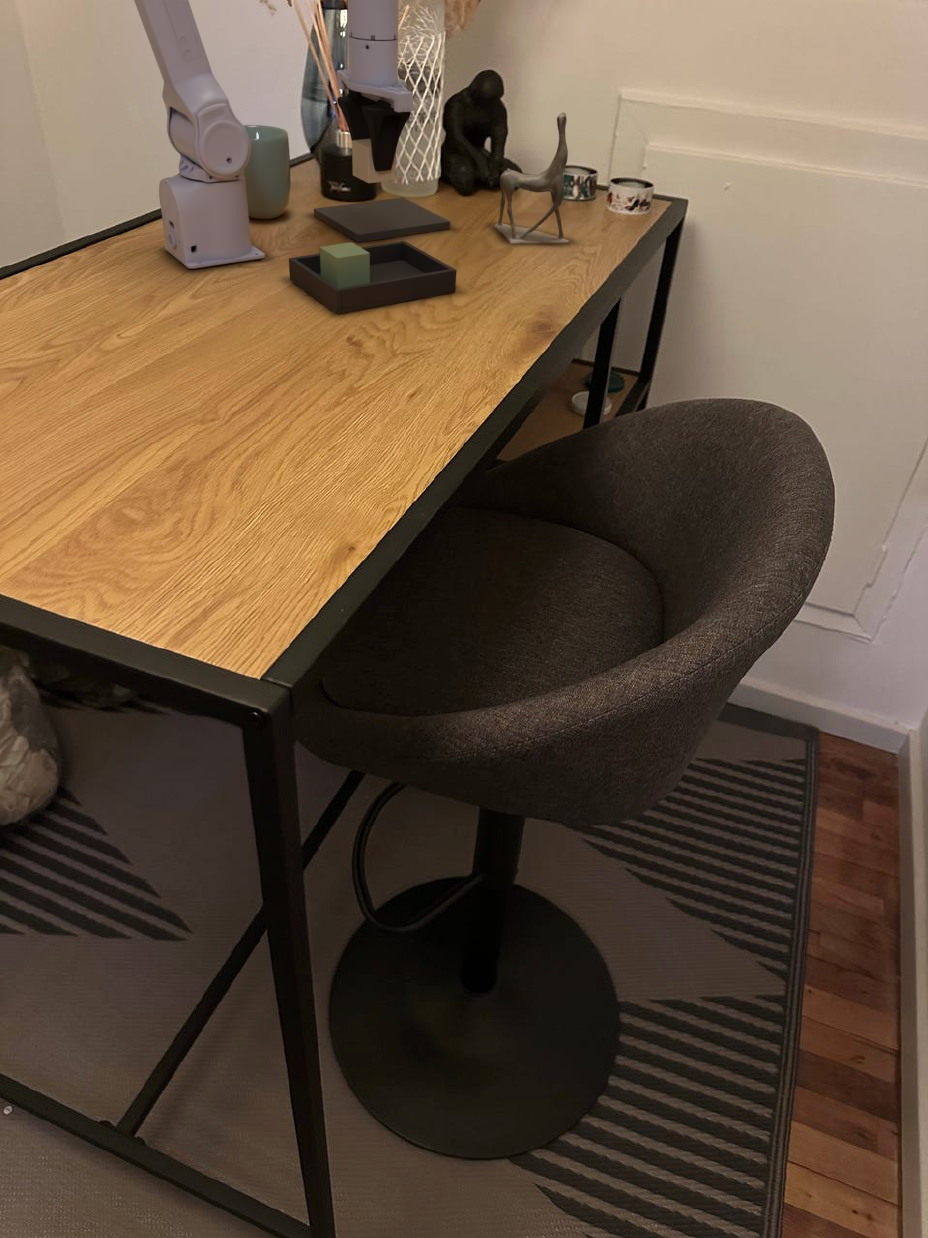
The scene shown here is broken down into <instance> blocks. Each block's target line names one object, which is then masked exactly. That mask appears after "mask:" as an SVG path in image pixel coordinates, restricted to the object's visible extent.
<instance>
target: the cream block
mask: <svg viewBox="0 0 928 1238" xmlns="http://www.w3.org/2000/svg"><path fill="white" fill-rule="evenodd" d="M351 155H352V156H351V158H352V159H351V161H352V162H351V163H352V165H351V166H352V176H353V177H355V178H357V179H359V180H361V181H363V182H365V183H367V184H375V183H383V182H384V183H385V182H393V181H397V151H396V152H395V157H394V161H393V165H392V169H391V170H388V171H379V172H378V171H375V169H374V164H373V159H372V148H371V139H362V140H351Z"/></svg>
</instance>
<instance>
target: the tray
mask: <svg viewBox="0 0 928 1238" xmlns="http://www.w3.org/2000/svg"><path fill="white" fill-rule="evenodd" d="M360 247H361V248H362V249H364V250H365V251H367V252H369V253H370V283H367V284H362V285H356V286H350V287H344V288H337V287H336V286H334V285H333V284H331V283H330V282H328V281H327V280H325V279H324V278H323V277H321V265H320V252H318V253H314V254H313V253H312V254H307V255H301V256H294V257H288V269H289V270H288V271H289V281H290V282H291V283H293V284H294V285H296V286H297V287H299V288H300V289H301V290H303V291H304V292H305V293H307V294H308V295H309V296H311V297H312V298H314V299H316V301H318V302H319V303H321V304H322V305H324V306H325V307H326V308H328V309H329V310H330V311H332V312H333V313H334V314H336V315H340V314H341V315H342V314H347V313H351V312H357V311H362V310H367V309H373V308H377V307H378V308H379V307H383V306H384V307H385V306H388V305H395V304H399V303H404V302H411V301H414V300H415V301H416V300H421V299H426V298H431V297H438V296H442V295H447V294H453V293H456V287H457V272H458V271H457V269H455V268H454V267H452V266H450V265H449V264H447V263H445V262H443V261H441V260H440V259H438V258H436V257H434V256H433V255H431V254H430V253H427V252H425V251H424V250H421V249H420V248H418V247H417V246H415V245H413V244H411V243H410V242H407V241H406V240H400V241H399V240H398V241H393V242H386V243H379V244H374V245H373V244H372V245H366V246H360Z"/></svg>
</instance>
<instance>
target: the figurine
mask: <svg viewBox="0 0 928 1238" xmlns="http://www.w3.org/2000/svg"><path fill="white" fill-rule="evenodd" d="M567 121H568V119H567V113H565V112H561V113H560V114H559V115H557V117H556V126H557V131H558V143H557V147H556V148H557V149H556V152H555V154H554V157H553V159H552V161H551V163H550V165H549V166H548V167H547V168H546V169H545V170H544V171H542V172H539V173H532V174H530V173H529V174H525V173H521V172H519V171H516V170H513V169H510V167H509V168H506V170H505V171H503V172H502V173H501V175H500V177H499V187H500V191H501V199H500V203H499V204H500V207H499V217H498V222H496V223H495V225H493V227H494V229H495V230H497V231H498V232H499V233H501V234H502V235H503V236H504V238H505V239H506V240H507V242H508V243H509V244H512V245H552V244H569V240H568V239H566V238H564V231H563V225H562V218H561V213H560V209H559V208H560V206H561V205H562V203H563V201H564V197H565V180H564V179H565V178H564V176H565V175H564V174H565V170H566V165H567V163H568V157H569V150H568V144H567V139H566V129H567V127H566V126H567ZM516 188H520V189H523V190H525V191H528V192H532V193H546V192H547V193H550V195H551V201H552V206H551V208H550V209H549V211H548V212H546V214H545V215H544V216H543V217H542V218H541V219H540V220H538V221H537V222H536V223H535V224H534V225H533V226H531V227H530V228H528V227H523V226H518V225H515V221H514V215H513V214H514V213H513V205H512V203H513V195H514V192H515V190H516ZM506 203H507V208H506V213H507V216H508V219H509V222H510V224H507V223H503V218H504V211H505V204H506ZM552 214H555V217H556V224H557V228H558V229H557V230H558V236H557V235H553V234H549V233H547V232H543V231H540V230H536V229H537V228H538V227H540V225H542V224H543V223H544V222H545V221H547V219H548V218H549V217H550V216H551V215H552Z"/></svg>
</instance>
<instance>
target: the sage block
mask: <svg viewBox="0 0 928 1238" xmlns="http://www.w3.org/2000/svg"><path fill="white" fill-rule="evenodd" d="M361 247H362V246H359V245H357V244H356V243H354V242H353V241H350V242H343V243H337V244H330V245H324V246H319V253H320V265H321V277H323V278H324V279H325V280H327V281H328V282H330V283H331V284H333V285H334V286H336V287H337V288H344V287H350V286H356V285H362V284H367V283H370V253H369V252H367V251H365V250H364V249H362V248H361Z"/></svg>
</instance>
